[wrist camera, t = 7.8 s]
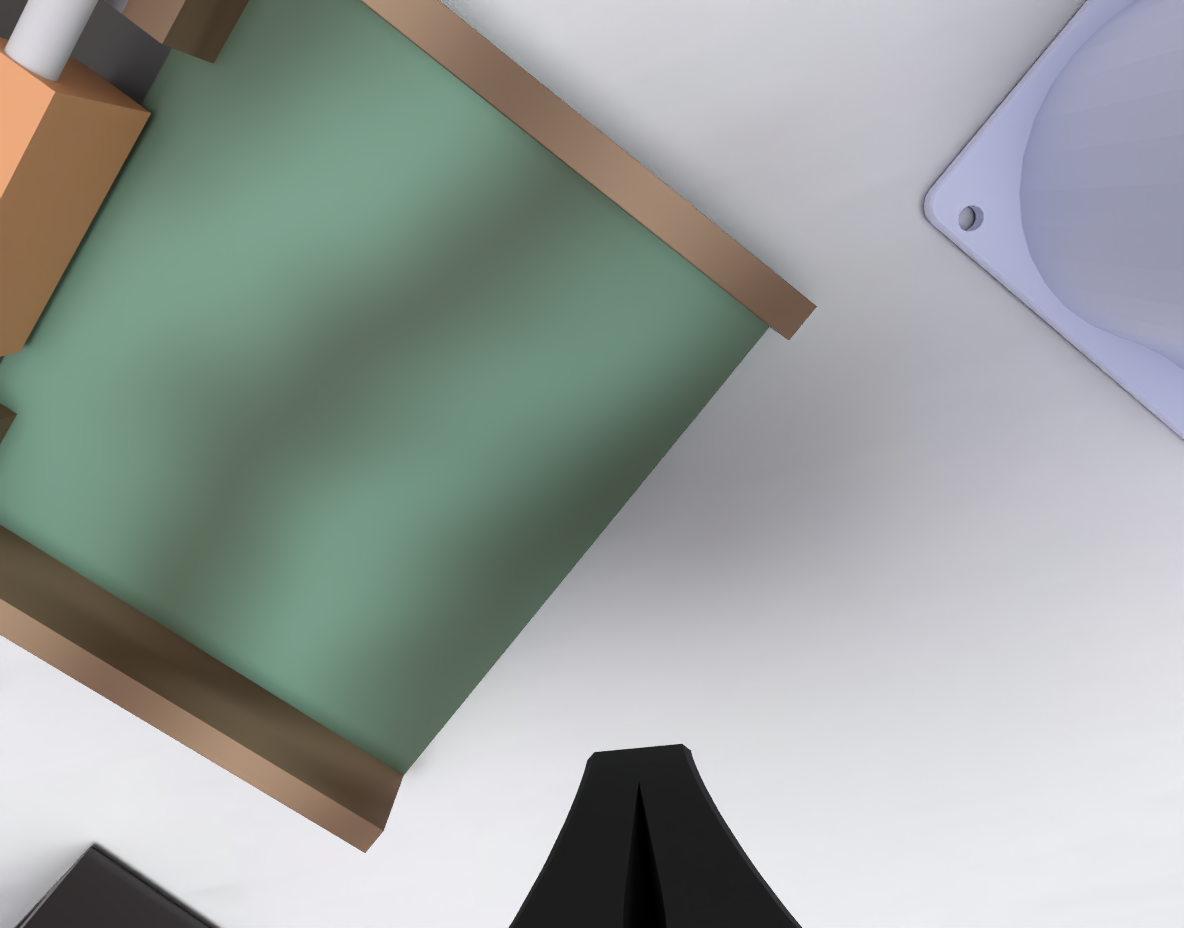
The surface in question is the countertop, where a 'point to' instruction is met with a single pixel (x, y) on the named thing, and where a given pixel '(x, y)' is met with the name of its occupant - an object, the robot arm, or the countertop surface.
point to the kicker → (52, 156)
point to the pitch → (343, 382)
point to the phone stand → (104, 900)
